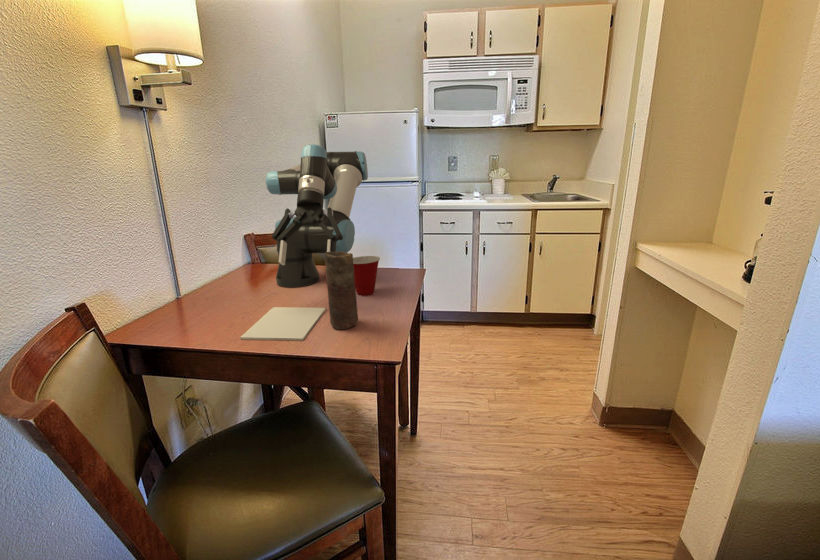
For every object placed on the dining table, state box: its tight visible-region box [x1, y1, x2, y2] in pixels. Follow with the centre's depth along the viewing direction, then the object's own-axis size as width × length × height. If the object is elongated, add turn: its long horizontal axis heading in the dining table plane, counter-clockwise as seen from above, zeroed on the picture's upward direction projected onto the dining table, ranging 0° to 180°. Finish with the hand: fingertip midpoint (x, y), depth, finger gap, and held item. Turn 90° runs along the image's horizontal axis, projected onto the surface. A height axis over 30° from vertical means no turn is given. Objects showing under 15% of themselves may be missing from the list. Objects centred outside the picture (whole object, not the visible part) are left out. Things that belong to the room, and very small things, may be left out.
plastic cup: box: [353, 255, 381, 297], centre depth 126 cm, size 11×11×12 cm
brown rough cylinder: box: [323, 251, 359, 330], centre depth 101 cm, size 8×7×20 cm
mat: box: [239, 306, 327, 342], centre depth 105 cm, size 20×16×1 cm
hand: (305, 263), depth 108 cm, fingers open, 13 cm apart
